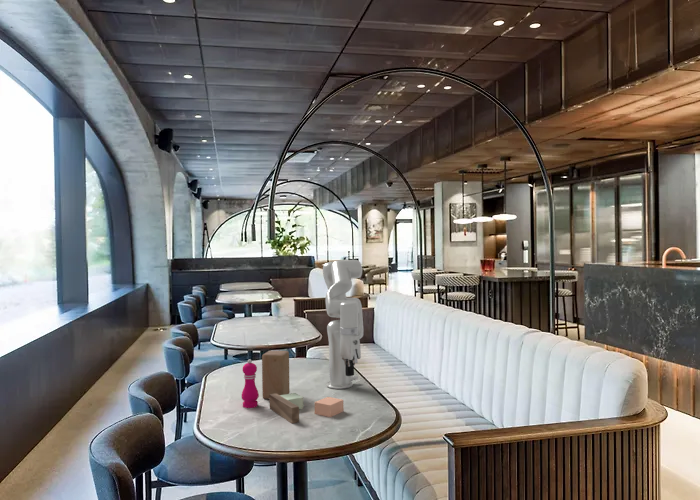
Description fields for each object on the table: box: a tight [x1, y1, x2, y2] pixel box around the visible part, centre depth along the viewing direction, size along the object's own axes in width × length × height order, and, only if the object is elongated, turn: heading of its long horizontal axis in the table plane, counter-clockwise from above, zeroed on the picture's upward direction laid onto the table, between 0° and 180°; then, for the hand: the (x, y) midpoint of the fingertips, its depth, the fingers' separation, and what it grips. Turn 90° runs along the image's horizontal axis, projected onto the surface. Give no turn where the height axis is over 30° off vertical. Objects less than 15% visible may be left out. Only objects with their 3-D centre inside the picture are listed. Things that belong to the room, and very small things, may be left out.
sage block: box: [280, 392, 304, 410], centre depth 229 cm, size 9×8×5 cm
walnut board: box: [269, 393, 300, 424], centre depth 219 cm, size 3×22×6 cm, turn 31°
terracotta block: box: [313, 396, 344, 418], centre depth 222 cm, size 9×8×5 cm
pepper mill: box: [241, 358, 260, 409], centre depth 232 cm, size 7×7×20 cm
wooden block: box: [261, 350, 291, 400], centre depth 246 cm, size 10×10×20 cm
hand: (349, 375), depth 227 cm, fingers closed
